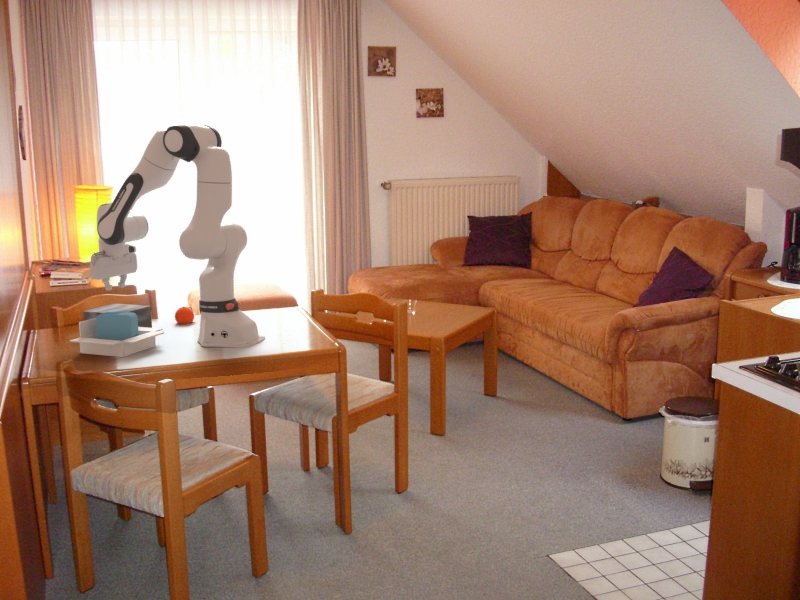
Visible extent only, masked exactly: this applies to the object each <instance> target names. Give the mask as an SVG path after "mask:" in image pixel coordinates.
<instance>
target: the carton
mask: <svg viewBox="0 0 800 600" xmlns="http://www.w3.org/2000/svg"><path fill="white" fill-rule="evenodd" d="M163 330H164V329H163V328H157V327H152V328H147V327H138V332H139V336H136V337H132V338H129V339H126V340H123V341H117V340H105V339H98V337H97V324H96V318H93V319H89V320H85V321H84V320H82V321H79V322H78V331H79V337H77V338H74V339H70V340H69V342H70V343H79V351H80V354H85V355H95V356H96V355H97V356H108V357H118V358H125V357H129V356H130V355H134V354H136V353H139V352H143V351H145V350H148V349H151V348H153V347H156V345H157V344H156V337H157V336H159V335H164V334H165V331H163Z"/></svg>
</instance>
